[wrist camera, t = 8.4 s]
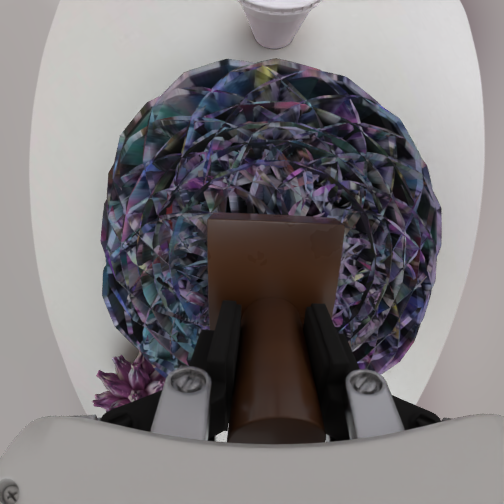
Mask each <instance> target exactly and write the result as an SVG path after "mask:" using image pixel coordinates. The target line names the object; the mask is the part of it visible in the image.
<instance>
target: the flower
mask: <svg viewBox="0 0 504 504" xmlns="http://www.w3.org/2000/svg"><path fill="white" fill-rule="evenodd" d="M112 360H113V362H114V364H115V369H116V373H117V374H115V373H104V372H102V371H100V370H99V371H98V374H97V375H96V376H97V377H98V378H100V379H101V380H102V382H103V384H104V386H105V387H106V388H107V389H108V390H109V391H106V392H103V393H101V394H95V398H96V399H98V400H93V401H92V402H93V403H94V406H96V407H102V408H104V409H106V412H108V411H110V410H112V409H114V408H117V407H120V406H122V405H125V404H128V403H130V402H133V401H135V400H138V399H141V398H143V397H146V396H148V395H151V394H153V393H155V392H158V391H160V390H163V387H164V383H165V380H166V378H164V377H163V376H162V375H161V374H160V373H159V372H157V371H156V370H155V369H154V368H153V366H152V364H151V363H149V362H148V361H147V360H146V359H145V357H144V356H143V354H142V353H141V352H140V350H139V354H138V356H137V358H136V359H135V360H134V362H133V364H131V363H130V362H128V361H126V360H125V358H124V357H123V356H122V355H121V356H120V357H118V358H117V357H114V358H112Z"/></svg>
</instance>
